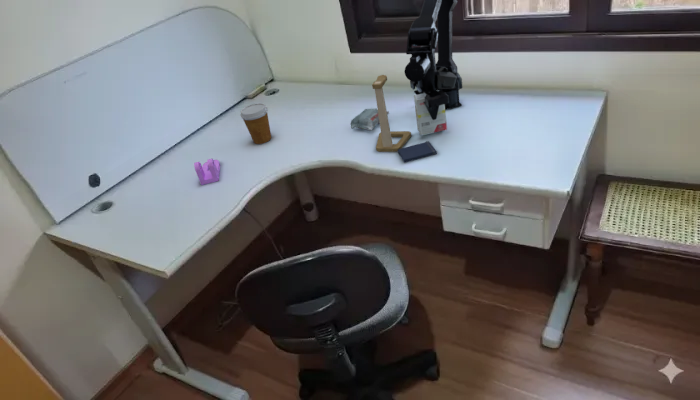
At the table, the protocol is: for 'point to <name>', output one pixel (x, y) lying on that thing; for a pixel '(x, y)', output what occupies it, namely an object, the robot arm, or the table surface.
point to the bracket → (205, 174)
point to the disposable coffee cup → (257, 122)
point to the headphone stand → (386, 122)
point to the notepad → (417, 151)
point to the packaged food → (366, 119)
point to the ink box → (428, 117)
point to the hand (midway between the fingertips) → (431, 116)
